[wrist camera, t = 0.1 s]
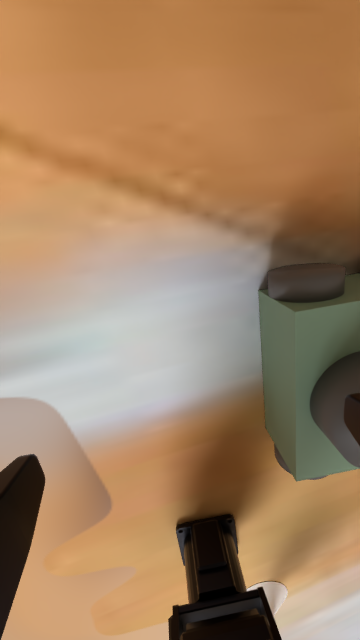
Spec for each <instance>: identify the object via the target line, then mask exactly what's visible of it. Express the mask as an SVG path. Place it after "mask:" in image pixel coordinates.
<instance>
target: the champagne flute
mask: <svg viewBox="0 0 360 640" xmlns="http://www.w3.org/2000/svg"><path fill="white" fill-rule="evenodd" d="M262 586H263V589H264V592H265V595H266V597H267V600H268V603H269V606H270V608H271V611H272V614H273V617H274V615H275V614H276V612H277V611H278V609H279V608H280V606H281V605H282V603H283V602H284V600H285V599H286V597H287V593H288V591H287V588H286V587H285V586H284V585H283V584H281V583H278V582H272V581H270V582H262V583H258V584H256V585H253V586H251V587H250V588H248V589H247V591H249V590H254V589H257V587H262ZM274 620H275V618H274Z"/></svg>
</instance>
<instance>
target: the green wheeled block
mask: <svg viewBox="0 0 360 640" xmlns="http://www.w3.org/2000/svg"><path fill="white" fill-rule="evenodd" d="M345 270H346V268H345V267H344V266H341V265H336V264H325V263H312V264H298V265H290V266H284V267H280V268H276V269H273V270H271V271H269V272H268V289H264V290H258V293H259V312H260V331H261V350H262V369H263V388H264V407H265V426H266V429H267V431H268V433H269V435H270V436H271V438H272V440H273V442H274V449H275V457H276V459H277V461H278V463H279V464H280V465H281V467H282V468H284V469H285V470H286V471H287V472H289V473H290V474H292V475H293V477H294V479H295V480H296V481H301V480H306V479H310V480H316V479H321V478H324V477H326V476H328V475H330V474H335V473H340V472H345V471H350V470H355V469H360V446H359V445H358V443H357V442H356V440H355V439H354V437H353V436H352V434H351V433H350V431H349V430H348V428H347V427H346V425H345V422H344V418H343V415H344V401H345V397H346V395H348V394H353V393H359V392H360V273H357V274H352V275H346V276H345Z"/></svg>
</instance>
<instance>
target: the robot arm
mask: <svg viewBox="0 0 360 640" xmlns="http://www.w3.org/2000/svg"><path fill="white" fill-rule="evenodd" d="M343 418H344V422H345V425H346V427H347V428H348V430H349V431H350V433H351V434H352V436H353V437H354V439H355V440H356V442H357V443H358V445H359V446H360V392H359V393H353V394H348V395H346V397H345V401H344V415H343ZM44 486H45V475H44V472H43V470H42V468H41V465H40V463H39V461H38V459H37V456H35V455H34V454H30V455H24V456H20V457H18V458H16V459H15V460H14V461H13V462H12V463H10V464H9V465H8V466H7V467H6V468H5V469H3V470H2V471H1V472H0V640H1V637H2V634H3V631H4V628H5V625H6V621H7V619H8V616H9V612H10V609H11V606H12V603H13V600H14V597H15V594H16V591H17V588H18V585H19V582H20V578H21V575H22V572H23V569H24V566H25V563H26V560H27V557H28V553H29V550H30V546H31V542H32V539H33V535H34V530H35V526H36V521H37V517H38V513H39V508H40V503H41V499H42V495H43V491H44ZM176 534H177V538H178V542H179V547H180V551H181V556H182V560H183V564H184V566H185V569H186V579H187V589H188V600H189V604H185V605H181V606H179V605H174V606H173V615H172V616H171V617H170V618H169V619H168V620H169V640H282V639H281V636H280V634H279V631H278V628H277V625H276V622H275V620H274V617H273V614H272V611H271V608H270V606H269V603H268V600H267V597H266V595H265V592H264V589H263V586H262V587H257V589H254V590H249V591H247V590H246V586H245V582H244V578H243V574H242V570H241V567H240V563H239V559H238V546H237V538H236V529H235V521H234V517H233V515H231V514H230V515H224V516H219V517H215V518H210V519H205V520H200V521H195V522H190V523H186V524H181V525H178V526H177V527H176Z"/></svg>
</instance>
